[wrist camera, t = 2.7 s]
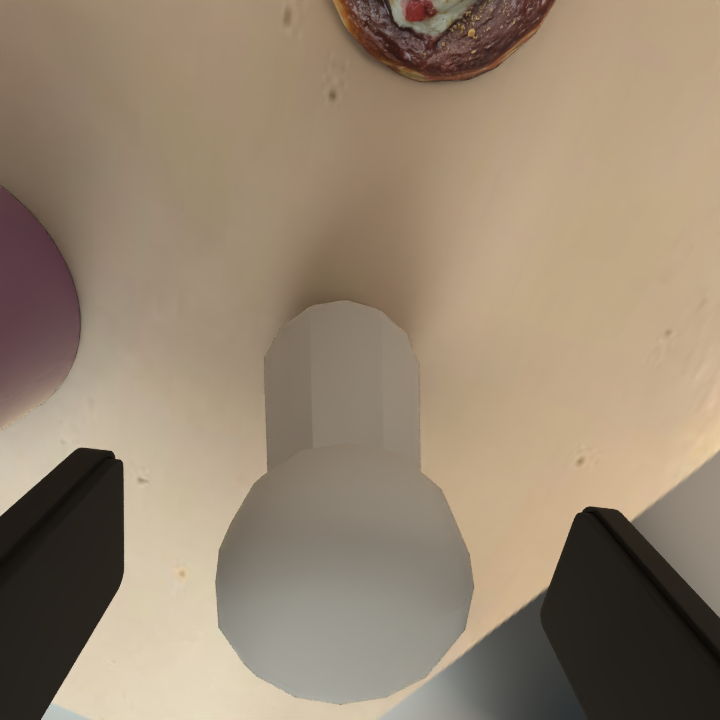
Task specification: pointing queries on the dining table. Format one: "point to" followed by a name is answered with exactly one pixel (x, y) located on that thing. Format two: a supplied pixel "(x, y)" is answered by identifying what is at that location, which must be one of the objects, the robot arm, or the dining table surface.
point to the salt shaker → (343, 521)
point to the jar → (32, 313)
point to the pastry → (442, 33)
